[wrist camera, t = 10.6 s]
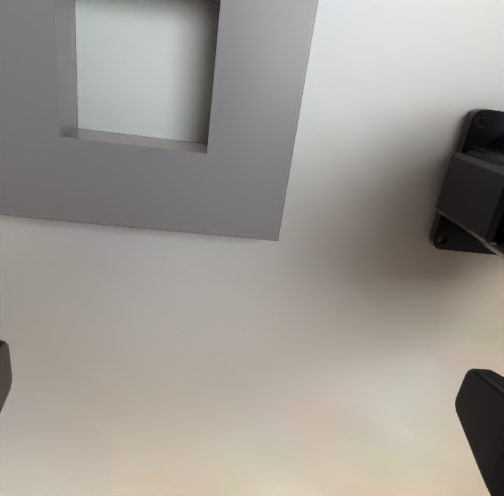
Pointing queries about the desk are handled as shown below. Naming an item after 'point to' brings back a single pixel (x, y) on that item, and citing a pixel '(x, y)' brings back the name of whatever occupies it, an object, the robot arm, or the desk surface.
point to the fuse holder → (147, 148)
